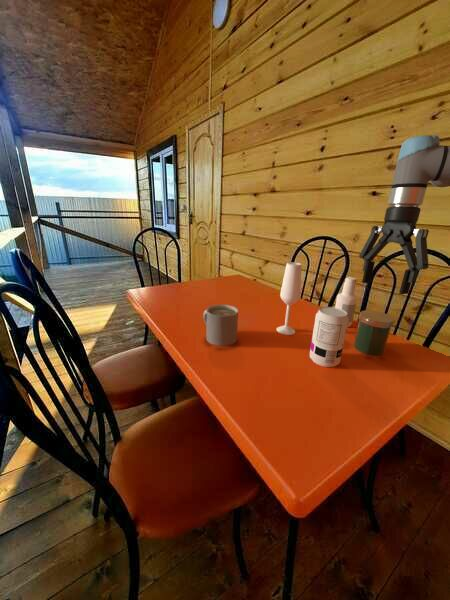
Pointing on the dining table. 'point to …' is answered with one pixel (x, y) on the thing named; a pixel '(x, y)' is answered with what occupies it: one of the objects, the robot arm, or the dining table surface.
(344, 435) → the dining table surface
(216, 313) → the coffee mug
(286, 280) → the champagne flute
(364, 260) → the robot arm
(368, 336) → the jam jar
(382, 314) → the jar lid
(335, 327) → the supplement can
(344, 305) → the spray bottle
